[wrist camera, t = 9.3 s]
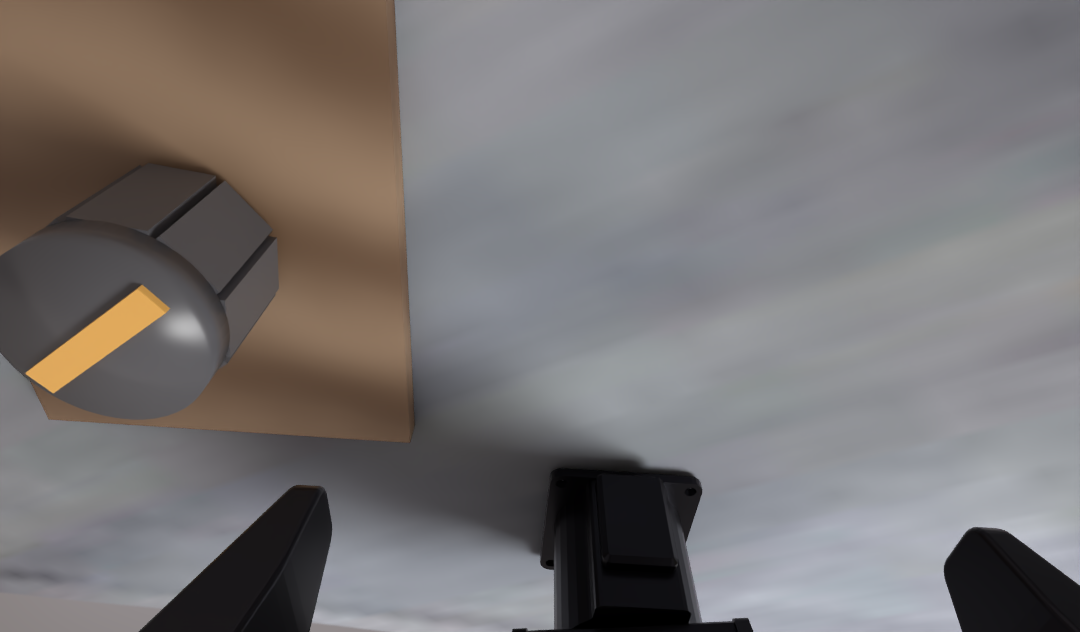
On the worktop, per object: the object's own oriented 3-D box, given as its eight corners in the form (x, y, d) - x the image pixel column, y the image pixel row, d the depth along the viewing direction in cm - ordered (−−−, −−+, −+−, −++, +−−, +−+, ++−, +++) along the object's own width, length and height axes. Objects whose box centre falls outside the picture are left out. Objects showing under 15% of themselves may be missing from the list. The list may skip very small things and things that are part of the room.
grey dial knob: (177, 130, 18) (57, 202, 13) (315, 270, 20) (251, 369, 16) (34, 251, 20) (-107, 347, 16) (174, 364, 22) (85, 473, 18)
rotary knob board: (414, 425, 25) (388, 527, 21) (65, 402, 25) (-32, 501, 21) (389, -105, 16) (329, -107, 11) (-191, -158, 15) (-474, -181, 11)
